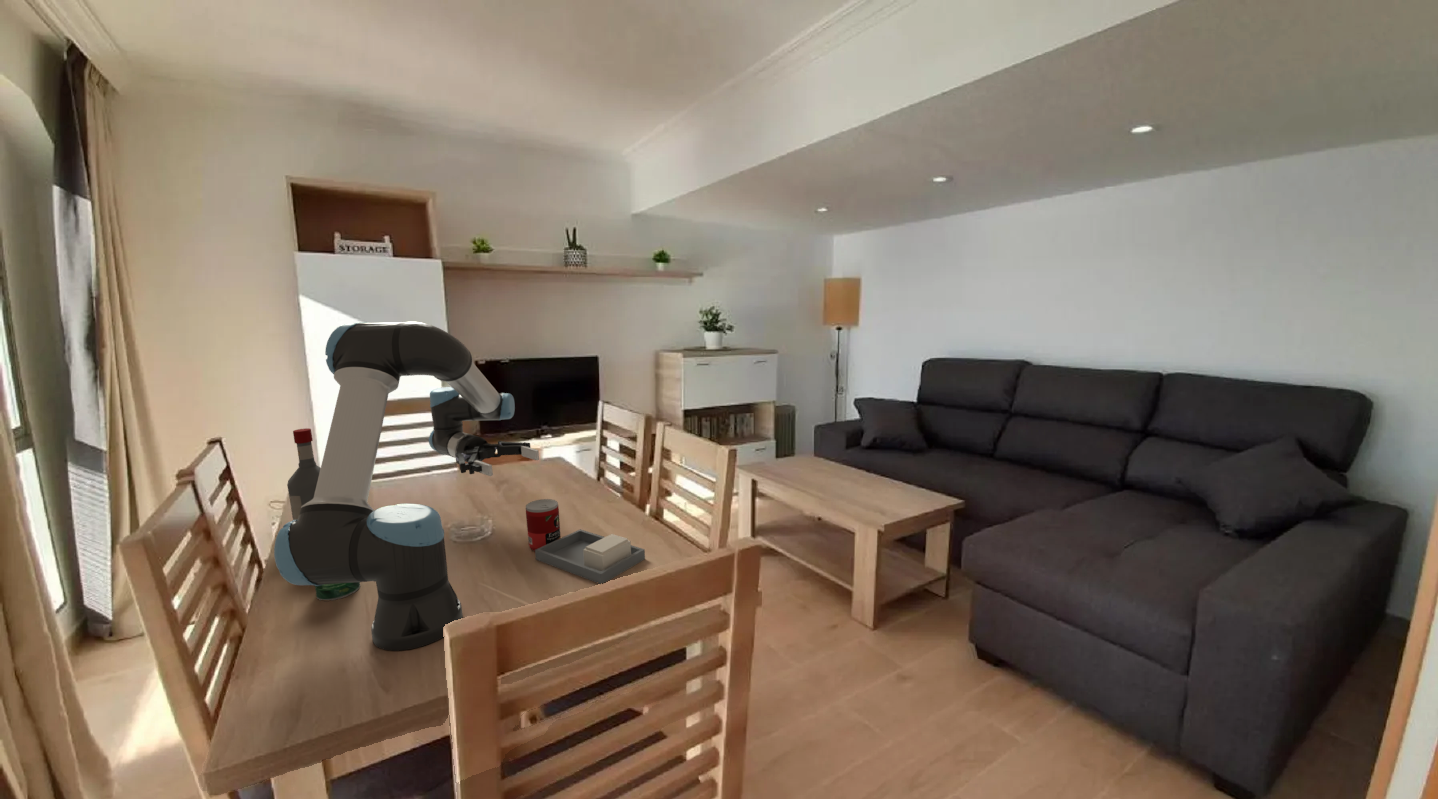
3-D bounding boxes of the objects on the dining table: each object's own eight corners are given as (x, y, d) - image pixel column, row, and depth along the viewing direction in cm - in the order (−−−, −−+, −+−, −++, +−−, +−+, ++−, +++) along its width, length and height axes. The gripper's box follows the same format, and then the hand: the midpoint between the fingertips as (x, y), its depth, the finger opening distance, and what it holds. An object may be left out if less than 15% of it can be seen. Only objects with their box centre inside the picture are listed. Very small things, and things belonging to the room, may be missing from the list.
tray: (645, 561, 129) (644, 549, 129) (601, 586, 118) (600, 574, 117) (580, 540, 141) (580, 529, 141) (536, 561, 130) (535, 549, 129)
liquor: (299, 552, 137) (280, 436, 132) (296, 540, 144) (277, 430, 139) (342, 541, 143) (326, 430, 138) (337, 531, 150) (321, 424, 145)
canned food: (552, 553, 134) (548, 510, 132) (522, 550, 136) (518, 509, 134) (566, 540, 142) (563, 499, 140) (538, 537, 143) (535, 498, 141)
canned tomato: (324, 605, 113) (316, 555, 111) (310, 593, 117) (302, 545, 115) (366, 588, 119) (360, 541, 117) (352, 578, 124) (345, 532, 122)
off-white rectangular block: (631, 560, 128) (630, 538, 127) (603, 577, 121) (602, 553, 120) (612, 554, 132) (611, 532, 131) (584, 570, 124) (583, 547, 123)
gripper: (510, 448, 162) (556, 462, 150) (425, 474, 142) (471, 492, 130) (507, 424, 160) (554, 436, 148) (421, 447, 141) (467, 462, 129)
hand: (515, 462), depth 139 cm, fingers open, 13 cm apart
